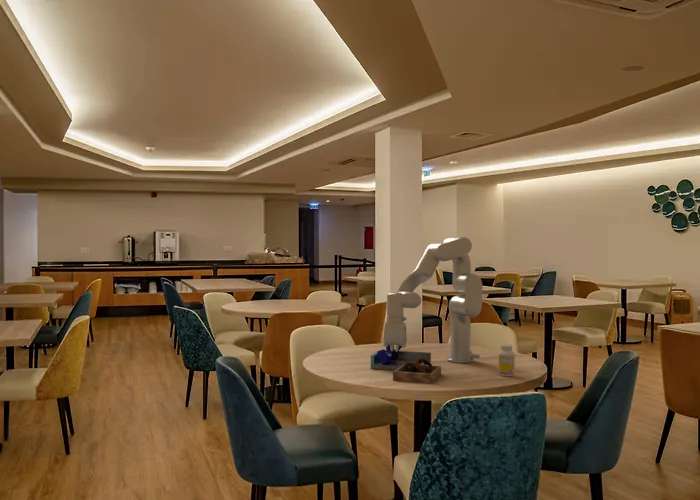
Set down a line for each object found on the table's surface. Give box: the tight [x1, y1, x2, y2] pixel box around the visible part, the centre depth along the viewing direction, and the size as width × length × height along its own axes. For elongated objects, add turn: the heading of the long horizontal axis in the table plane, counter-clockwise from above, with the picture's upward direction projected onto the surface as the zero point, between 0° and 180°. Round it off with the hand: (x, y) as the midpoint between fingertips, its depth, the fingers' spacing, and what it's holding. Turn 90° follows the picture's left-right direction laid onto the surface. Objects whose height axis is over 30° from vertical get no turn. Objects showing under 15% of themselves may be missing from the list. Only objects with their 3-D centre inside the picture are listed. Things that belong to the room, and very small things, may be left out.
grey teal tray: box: [370, 349, 432, 371], centre depth 279 cm, size 24×17×6 cm
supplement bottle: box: [498, 344, 516, 378], centre depth 262 cm, size 7×7×13 cm
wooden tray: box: [392, 364, 442, 384], centre depth 257 cm, size 16×18×4 cm
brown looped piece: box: [404, 359, 433, 374], centre depth 260 cm, size 12×10×8 cm
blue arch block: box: [376, 347, 392, 364], centre depth 280 cm, size 12×4×6 cm, turn 155°
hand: (394, 359), depth 279 cm, fingers closed
